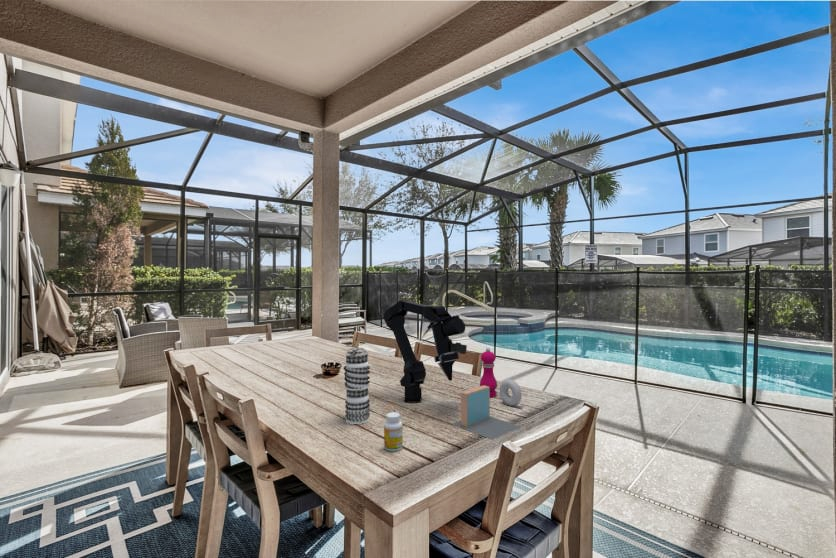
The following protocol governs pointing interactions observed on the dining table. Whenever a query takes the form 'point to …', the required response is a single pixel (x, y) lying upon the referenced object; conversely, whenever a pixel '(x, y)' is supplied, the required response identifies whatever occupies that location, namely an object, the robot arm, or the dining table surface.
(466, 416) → the terracotta tile
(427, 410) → the dining table surface
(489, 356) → the pepper mill
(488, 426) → the rubber mat
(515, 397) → the donut
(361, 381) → the decorative candle
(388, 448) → the supplement bottle
